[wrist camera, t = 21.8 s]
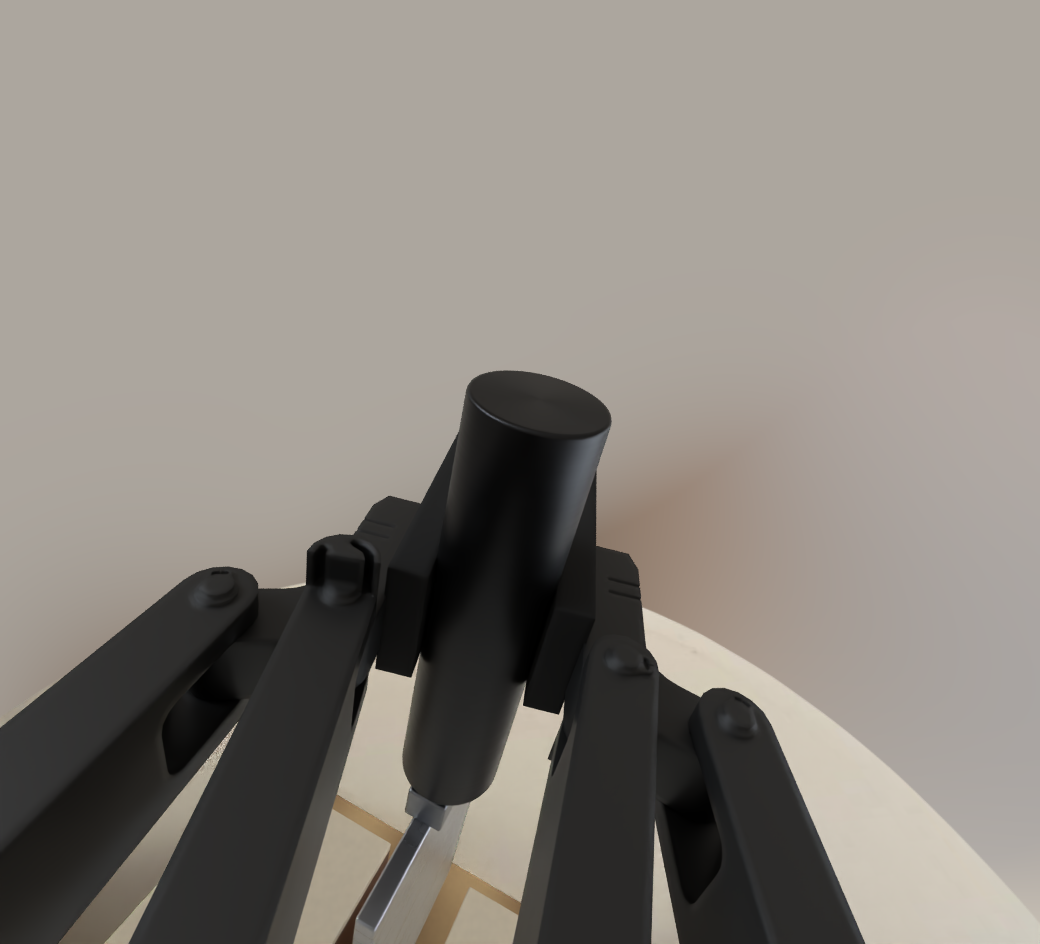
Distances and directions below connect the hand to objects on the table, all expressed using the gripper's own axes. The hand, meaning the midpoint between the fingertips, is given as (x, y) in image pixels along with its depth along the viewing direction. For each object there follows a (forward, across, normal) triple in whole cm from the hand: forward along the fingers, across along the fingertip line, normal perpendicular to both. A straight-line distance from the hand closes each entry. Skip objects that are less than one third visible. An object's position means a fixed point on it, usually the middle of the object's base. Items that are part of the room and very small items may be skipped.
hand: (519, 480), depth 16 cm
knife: (-5, 0, -18) cm, 19 cm away
